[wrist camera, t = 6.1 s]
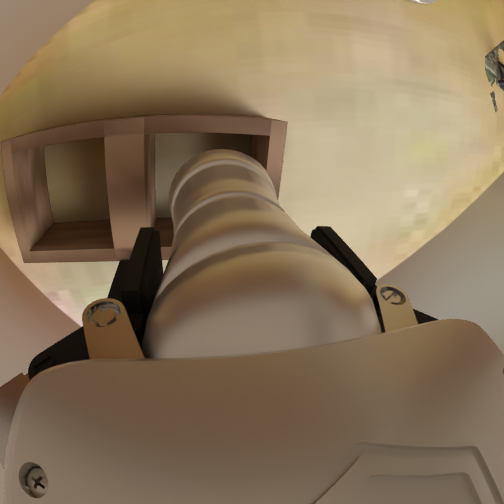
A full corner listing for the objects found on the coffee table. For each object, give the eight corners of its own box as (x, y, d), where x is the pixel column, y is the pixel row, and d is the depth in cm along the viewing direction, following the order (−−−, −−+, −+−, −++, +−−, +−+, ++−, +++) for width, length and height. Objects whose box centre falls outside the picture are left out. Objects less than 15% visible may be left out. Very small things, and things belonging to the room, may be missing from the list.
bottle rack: (33, 131, 18) (0, 141, 13) (266, 117, 23) (287, 121, 18) (47, 234, 24) (24, 262, 19) (255, 227, 29) (270, 256, 24)
